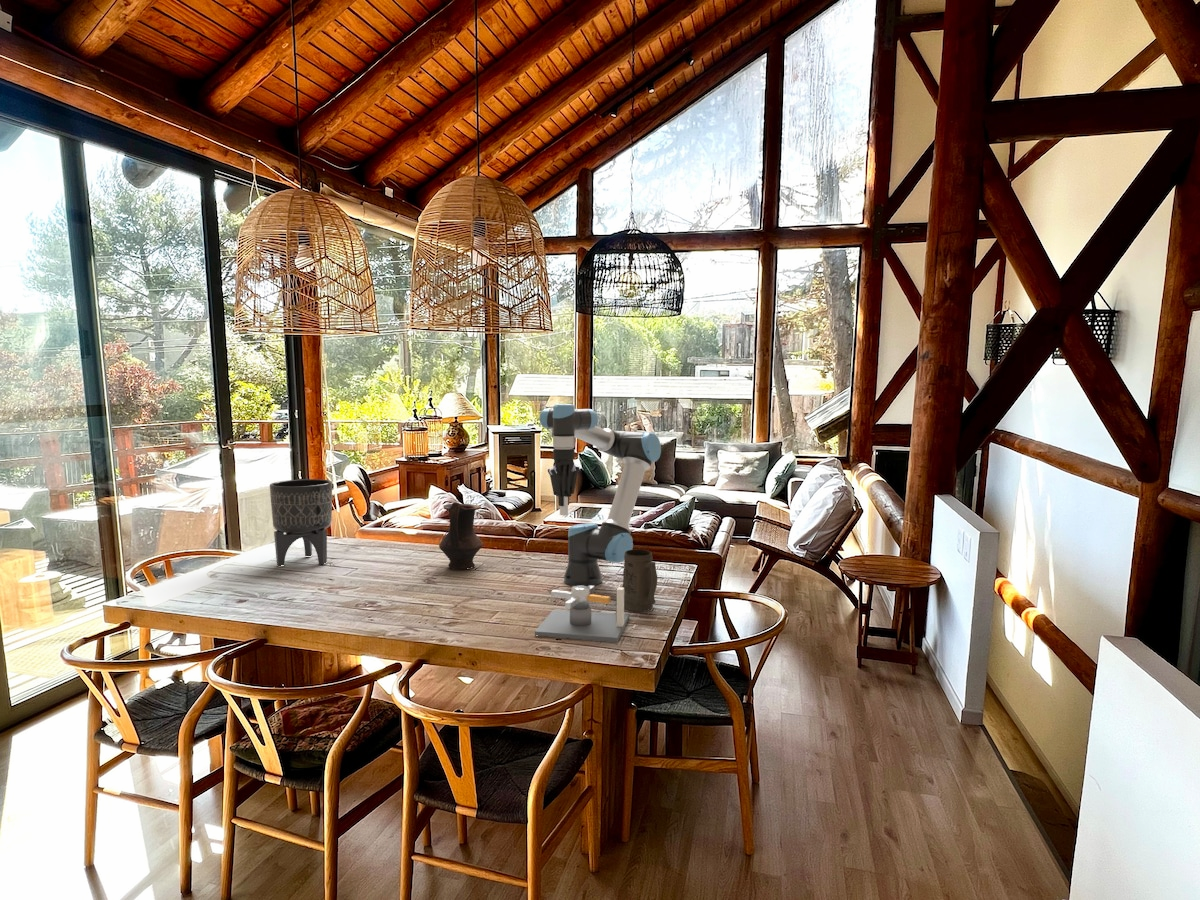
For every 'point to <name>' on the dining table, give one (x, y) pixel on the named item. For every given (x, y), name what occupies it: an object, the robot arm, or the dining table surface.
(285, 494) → the planter
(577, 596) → the capstan
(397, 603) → the dining table surface
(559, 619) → the stand
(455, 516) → the jug
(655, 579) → the beer stein
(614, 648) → the dining table surface
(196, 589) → the dining table surface
